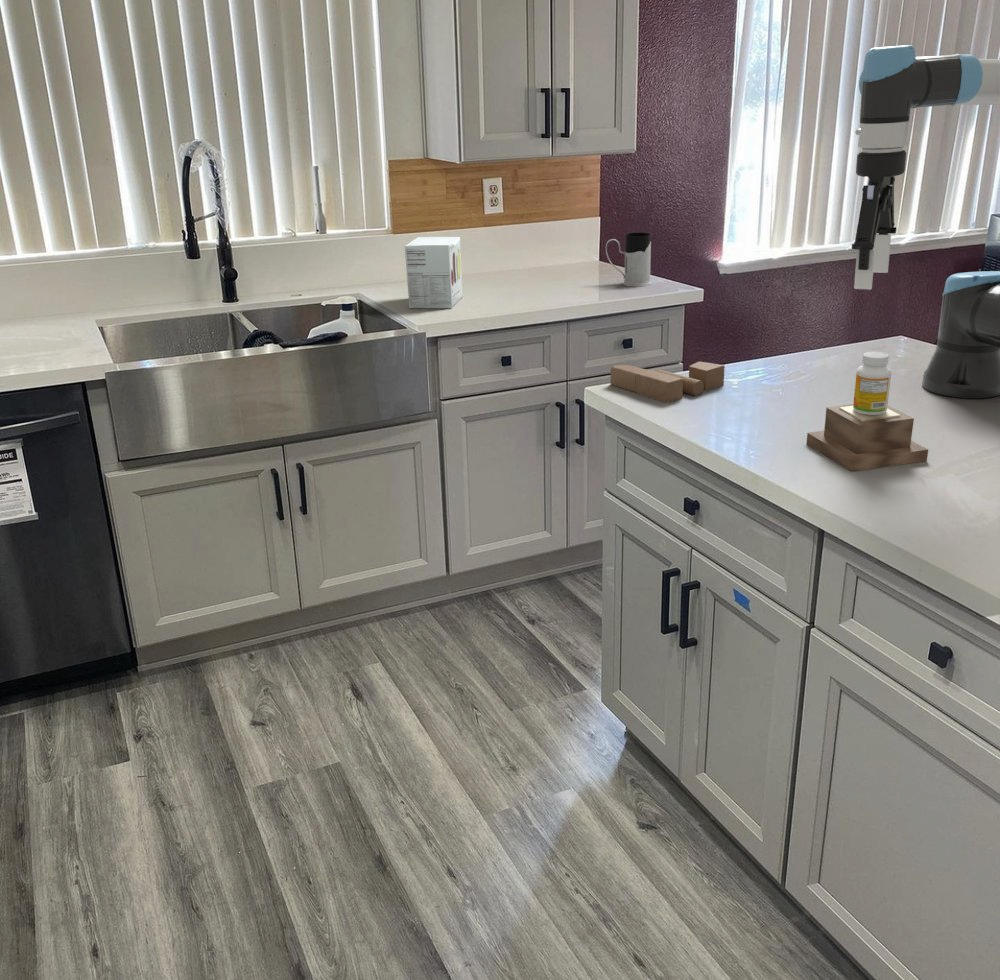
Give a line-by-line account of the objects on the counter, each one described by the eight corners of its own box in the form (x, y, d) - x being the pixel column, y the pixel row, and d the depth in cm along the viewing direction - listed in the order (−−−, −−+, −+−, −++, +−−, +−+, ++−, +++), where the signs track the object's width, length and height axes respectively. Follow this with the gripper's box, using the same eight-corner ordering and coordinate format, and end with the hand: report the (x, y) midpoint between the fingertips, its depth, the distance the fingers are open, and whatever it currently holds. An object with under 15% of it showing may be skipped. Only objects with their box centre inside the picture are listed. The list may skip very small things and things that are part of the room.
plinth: (877, 434, 177) (882, 394, 174) (926, 460, 165) (932, 419, 162) (806, 443, 174) (809, 403, 171) (851, 471, 162) (855, 428, 159)
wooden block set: (670, 379, 196) (608, 361, 209) (670, 406, 198) (608, 387, 211) (728, 362, 205) (665, 346, 218) (727, 388, 207) (665, 371, 221)
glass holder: (652, 286, 304) (653, 236, 299) (605, 287, 306) (605, 237, 300) (650, 280, 312) (652, 231, 307) (605, 281, 314) (605, 233, 308)
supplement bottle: (859, 404, 170) (865, 348, 166) (891, 409, 167) (898, 353, 163) (847, 412, 166) (853, 356, 163) (879, 418, 163) (886, 360, 159)
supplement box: (453, 309, 286) (449, 245, 279) (408, 309, 288) (403, 245, 281) (464, 296, 301) (461, 235, 294) (421, 296, 304) (417, 236, 297)
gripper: (873, 142, 173) (864, 265, 182) (840, 158, 154) (831, 295, 162) (919, 141, 170) (907, 266, 178) (891, 157, 150) (879, 297, 158)
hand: (871, 280), depth 170 cm, fingers open, 13 cm apart
